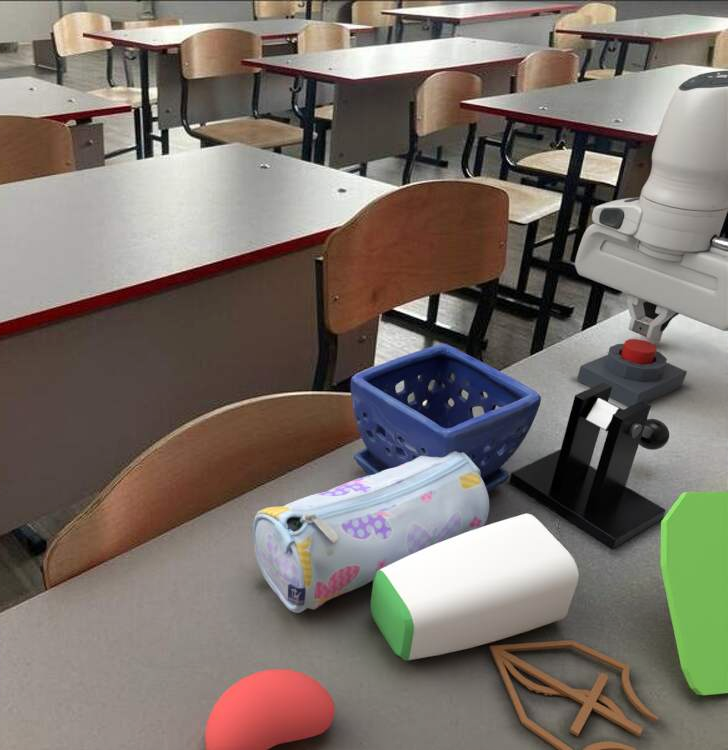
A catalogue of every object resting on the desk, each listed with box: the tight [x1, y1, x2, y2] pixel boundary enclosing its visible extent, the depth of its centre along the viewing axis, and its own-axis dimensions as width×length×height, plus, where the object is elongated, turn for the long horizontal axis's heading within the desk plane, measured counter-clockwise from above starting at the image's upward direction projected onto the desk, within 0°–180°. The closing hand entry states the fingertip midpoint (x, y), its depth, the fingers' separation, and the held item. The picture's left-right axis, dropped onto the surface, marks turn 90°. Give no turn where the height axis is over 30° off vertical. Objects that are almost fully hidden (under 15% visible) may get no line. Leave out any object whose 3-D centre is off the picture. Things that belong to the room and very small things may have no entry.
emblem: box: [489, 639, 659, 750], centre depth 60 cm, size 12×10×1 cm
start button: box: [621, 338, 658, 364], centre depth 98 cm, size 4×4×2 cm
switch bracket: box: [509, 383, 666, 550], centre depth 77 cm, size 8×12×12 cm, turn 33°
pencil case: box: [252, 451, 490, 614], centre depth 69 cm, size 21×9×10 cm, turn 118°
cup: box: [370, 513, 580, 662], centre depth 64 cm, size 7×7×15 cm
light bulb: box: [640, 301, 680, 345], centre depth 107 cm, size 6×6×10 cm
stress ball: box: [204, 668, 336, 750], centre depth 55 cm, size 5×9×6 cm
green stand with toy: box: [659, 490, 728, 696], centre depth 65 cm, size 15×15×6 cm
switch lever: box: [586, 398, 670, 451], centre depth 78 cm, size 14×3×3 cm, turn 124°
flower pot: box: [350, 343, 542, 493], centre depth 79 cm, size 13×13×12 cm
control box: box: [576, 343, 688, 407], centre depth 99 cm, size 10×8×4 cm
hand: (642, 333), depth 96 cm, fingers closed
